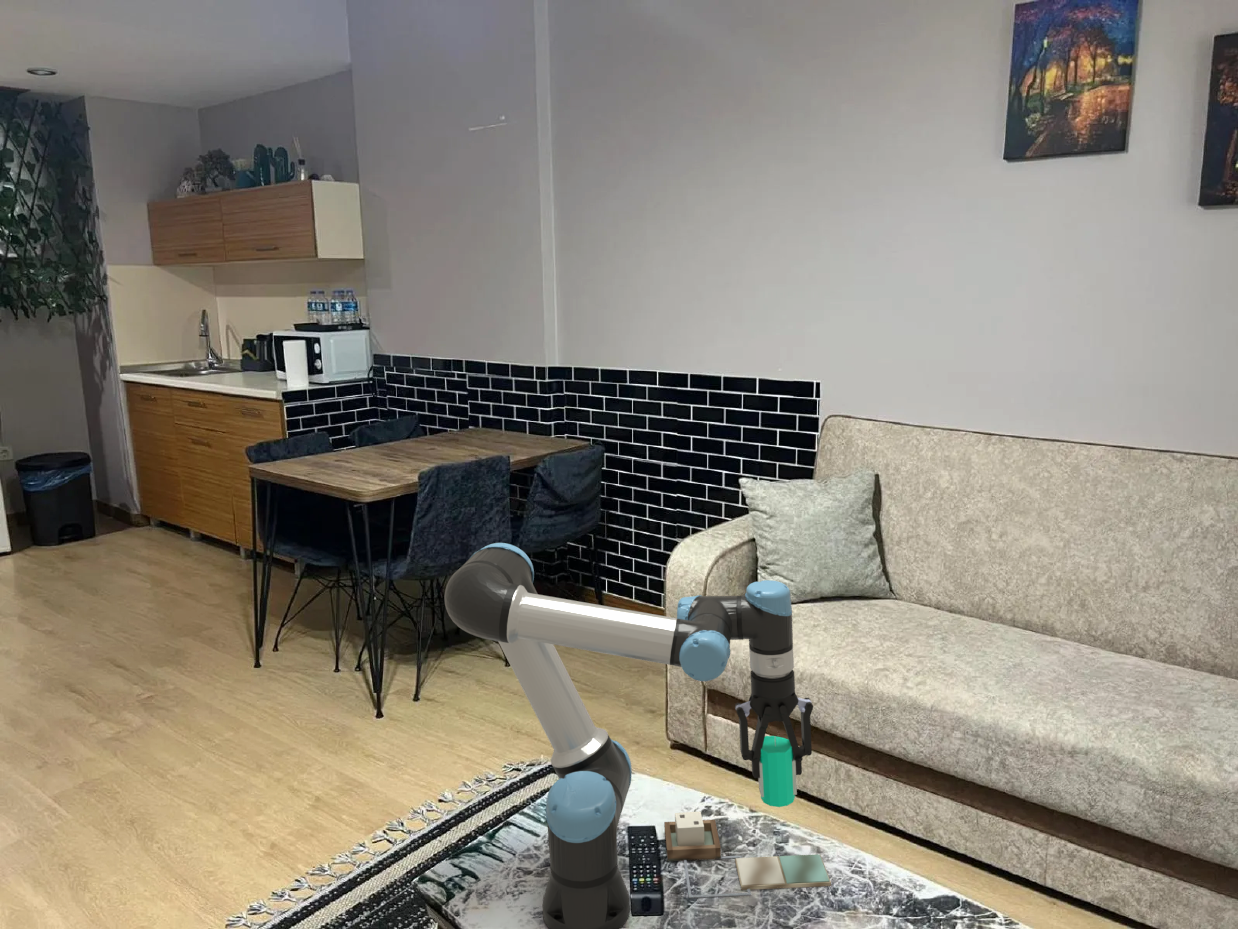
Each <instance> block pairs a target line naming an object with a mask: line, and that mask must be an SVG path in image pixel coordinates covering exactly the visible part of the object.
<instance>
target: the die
mask: <svg viewBox="0 0 1238 929" xmlns="http://www.w3.org/2000/svg"><path fill="white" fill-rule="evenodd" d="M703 820H704V819H703V817H702V812H701V811H684V812H674V822H675V833H676V841H677V846H698V845H704V824H703Z"/></svg>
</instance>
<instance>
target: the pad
mask: <svg viewBox="0 0 1238 929" xmlns="http://www.w3.org/2000/svg"><path fill="white" fill-rule="evenodd" d="M736 858H743V855H724V856H722V855H721V859H720V860H727V859H731V860H732V859H734V860H735V859H736ZM716 860H719V859H718V858H717V859H716ZM691 861H693V860H690V861H689V860H687V861H686V860H684V861H683V865H684V872H685V880H686V888H687V895H688V899H700V898H701V899H702V898H703V899H704V898H722V897H723V898H724V897H744V896H746V897H748V896H752V892H751V890H750V889H747V890H746V892H732V893H712V894H710V893H709V894H692V891H691V890H692V889H691V883H690V878H689V877H690V876H689V869H688V868H689V867H688V863H687V862H691ZM695 861H702V860H701V859H699V860H697V859H696V860H695ZM703 861H710V860H709V859H707V860H706V859H704V860H703Z"/></svg>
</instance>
